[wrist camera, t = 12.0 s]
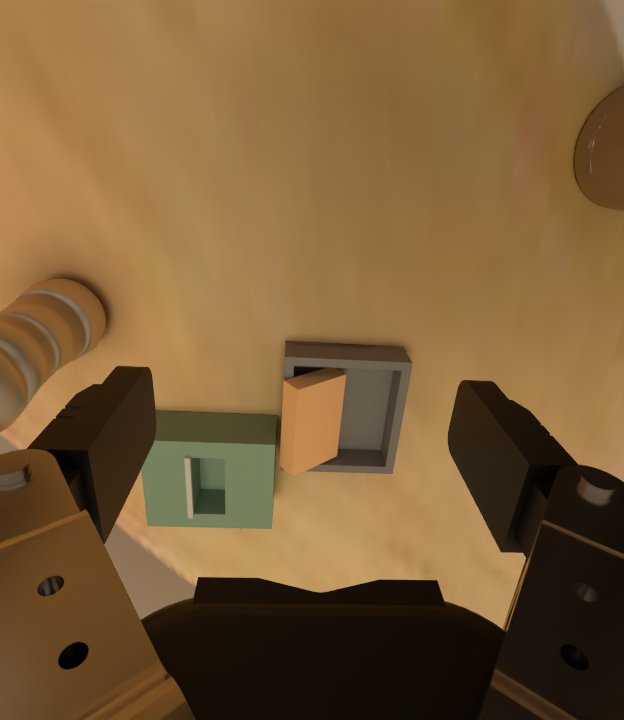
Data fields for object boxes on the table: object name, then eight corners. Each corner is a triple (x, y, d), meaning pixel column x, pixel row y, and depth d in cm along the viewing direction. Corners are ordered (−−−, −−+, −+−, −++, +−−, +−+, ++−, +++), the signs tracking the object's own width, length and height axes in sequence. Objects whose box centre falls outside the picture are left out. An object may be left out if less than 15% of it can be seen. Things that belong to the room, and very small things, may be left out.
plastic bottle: (67, 355, 41) (-113, 515, 23) (19, 288, 38) (-227, 411, 20) (128, 329, 40) (-8, 474, 22) (84, 259, 37) (-112, 359, 19)
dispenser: (277, 415, 45) (275, 447, 40) (273, 493, 49) (271, 531, 44) (154, 410, 44) (136, 442, 39) (161, 490, 48) (146, 529, 43)
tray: (403, 346, 42) (412, 362, 39) (385, 452, 47) (392, 473, 44) (285, 341, 41) (285, 356, 38) (280, 448, 46) (279, 470, 43)
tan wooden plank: (336, 456, 44) (346, 374, 40) (292, 477, 41) (298, 390, 37) (323, 446, 45) (331, 366, 42) (279, 465, 42) (283, 380, 38)
